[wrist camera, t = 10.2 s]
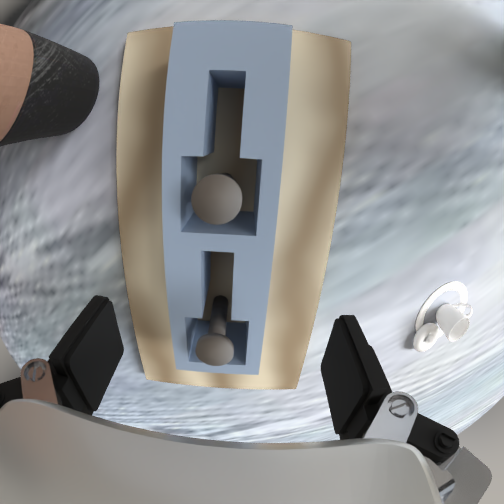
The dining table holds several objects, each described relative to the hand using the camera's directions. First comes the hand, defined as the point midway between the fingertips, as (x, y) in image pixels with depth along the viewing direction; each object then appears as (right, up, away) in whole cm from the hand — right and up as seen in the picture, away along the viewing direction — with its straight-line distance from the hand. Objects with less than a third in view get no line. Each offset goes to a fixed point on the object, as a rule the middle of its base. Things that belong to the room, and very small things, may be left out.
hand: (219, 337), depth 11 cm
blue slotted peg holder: (-1, +7, +8) cm, 11 cm away
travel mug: (-14, +16, +5) cm, 22 cm away
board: (-1, +5, +10) cm, 11 cm away
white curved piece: (+20, -3, +15) cm, 25 cm away
